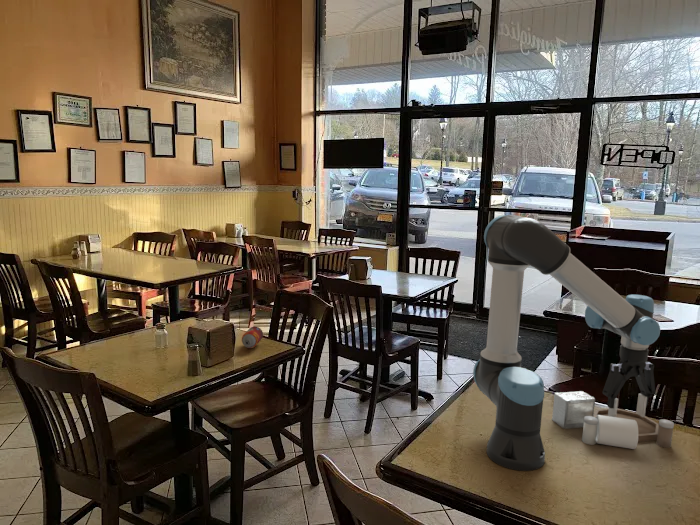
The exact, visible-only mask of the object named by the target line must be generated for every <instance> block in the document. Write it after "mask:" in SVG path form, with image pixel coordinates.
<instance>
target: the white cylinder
mask: <svg viewBox="0 0 700 525" xmlns="http://www.w3.org/2000/svg"><path fill="white" fill-rule="evenodd" d="M596 418H597V419H598V425H597V434H596V443H595V444H599V445H606V446H613V447H619V448H624V449H630V450H631V449H632V450H636V449H637V446H638V443H639V442H638V425H637V422H636V421H635V420H631V419H624V418H617V417H610V416H603V415H597V416H596Z"/></svg>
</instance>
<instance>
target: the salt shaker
mask: <svg viewBox="0 0 700 525" xmlns="http://www.w3.org/2000/svg"><path fill="white" fill-rule="evenodd" d="M597 425H598V419H597V418H595V417H592V416H585V417H584V426H583V427H582V428H583V429H582V437H581V441H582V442H583V443H584V444H587V445H591V446H594V445H596V444H597V443H596V434H597Z"/></svg>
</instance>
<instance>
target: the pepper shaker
mask: <svg viewBox="0 0 700 525" xmlns="http://www.w3.org/2000/svg"><path fill="white" fill-rule="evenodd" d="M674 423H675V422H673V421H671V420H668V419H664V418H663V419H659V420H658V424H659V427H658V435H657V440H656V445H657V446H659V447H660V448H661V447H662V448H665V449H670V448H671V447H672V442H673V432H674V426H675V424H674Z"/></svg>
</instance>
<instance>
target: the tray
mask: <svg viewBox="0 0 700 525" xmlns="http://www.w3.org/2000/svg"><path fill="white" fill-rule="evenodd" d="M608 409H609V408H598V409H597V408H596V409H594V416H593V417H595V418H596V416H597V415H603V416H608ZM616 417H617V418H624V419H631V420H635V421H636V422H637V425H638V443H639V442H646V441H647V442H649V441H657V435H658V427H659V422H656V421H655V420H653V419H651V418H649V417H648V416H646V415H645V417H641V416H640V415H638V414H636V411H635V412H634V411H631V410H626V409H623V408H618V407H617V415H616Z"/></svg>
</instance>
